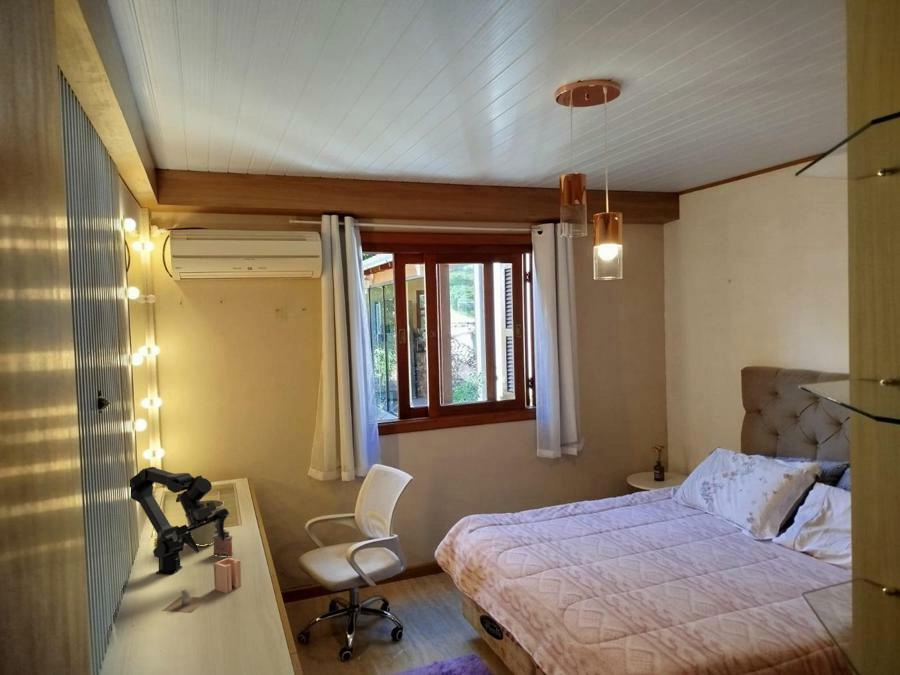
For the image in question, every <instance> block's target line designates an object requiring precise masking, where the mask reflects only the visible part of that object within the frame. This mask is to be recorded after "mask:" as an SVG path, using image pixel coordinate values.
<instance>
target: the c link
mask: <svg viewBox="0 0 900 675" xmlns="http://www.w3.org/2000/svg"><path fill="white" fill-rule="evenodd" d="M241 565H242V563H241V560H240V559H236V558H232V557H225V558H224V559H222V560H219V561H216V562H214V563H213V577H214V580H213V581H214V590H216V591H219V592H222V593H225V594H228V593H230V592H231V591H233V588H234V589H238V588H240V587H242V570H241V568H242V567H241ZM232 587H233V588H232Z"/></svg>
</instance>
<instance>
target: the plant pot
mask: <svg viewBox="0 0 900 675" xmlns="http://www.w3.org/2000/svg"><path fill="white" fill-rule="evenodd" d="M211 501H213V502H214V504H215V506H216V510H214V511H212V515H210V516H209V517H212V516H213V515H214V513H215V512H216V511H219V510H221V509H223V508H225V501H223V500H219V499H205V500H200V502H201V504H202V503H203V505H204V506H207V503H209V502H211ZM209 517H208V518H209ZM186 519H187V520H186V521H187V522H186V523H187V524H188V526H190V522H189V519H188V517H186ZM204 523H205V522H204ZM215 524H216V523H214V522H211V523H209V524H207V525H204V526H202V527H200V528H197V529H195V530H193V531H190V532H191V535H192V538H193V540H194V542H195V543H196V544H199V545H205V544H211V543H213V542H214V540H213V536H214V535H218V534H216V533H215V530H216V527H215ZM197 526H198V525H197Z"/></svg>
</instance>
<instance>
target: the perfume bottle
mask: <svg viewBox="0 0 900 675" xmlns="http://www.w3.org/2000/svg"><path fill="white" fill-rule="evenodd" d="M215 533H216V534H218V532H217V530H215ZM224 538H225V540H224V541H222V539H221V538H220V536H219V534H218V535H214V536H213V540H214V544H213V554H214V555H217V556H227V557H226V558H228V556H232V555H233V556H234V554H233V536H232V535H230V531H229V530H226V529H225V528H224ZM213 554H212V555H213ZM233 556H232V557H233Z"/></svg>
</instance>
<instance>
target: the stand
mask: <svg viewBox="0 0 900 675" xmlns="http://www.w3.org/2000/svg"><path fill="white" fill-rule="evenodd" d="M190 592H191V591H190V588H184V589H182V590H181V596H180V597H178V598H177V599H175V600H174V601H173V602H171V603H170V604H168V605H167V606H166V607H164V609H162V610H161V612H171V613H173V612H174V613H188V614H191V613H193V612H194V611H195V610H197V609H198V608H199V607H200V606H202V604H204V603H205V602H206V601H207V600H209V599H210V597H203V596H201V597H200V596H199V597H198V596H191V593H190Z"/></svg>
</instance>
